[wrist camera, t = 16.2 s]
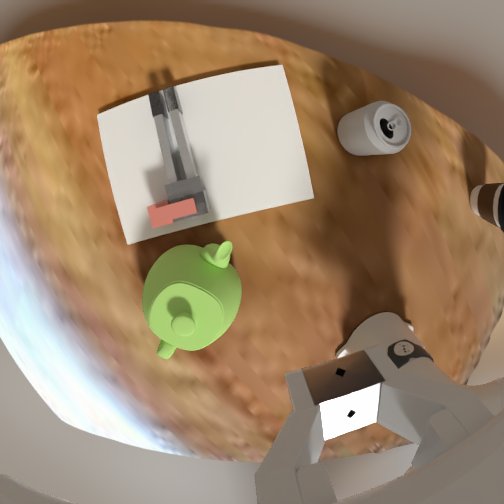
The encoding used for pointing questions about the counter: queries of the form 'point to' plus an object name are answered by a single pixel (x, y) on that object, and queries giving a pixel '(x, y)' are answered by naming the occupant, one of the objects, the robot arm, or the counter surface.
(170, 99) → the tongs arm
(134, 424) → the counter surface
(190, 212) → the lock tab
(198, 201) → the tongs fixed
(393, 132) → the can
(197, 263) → the teapot
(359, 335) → the robot arm
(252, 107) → the board
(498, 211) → the coffee cup
